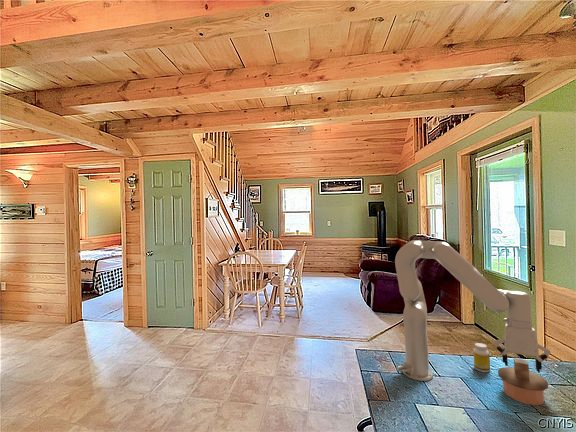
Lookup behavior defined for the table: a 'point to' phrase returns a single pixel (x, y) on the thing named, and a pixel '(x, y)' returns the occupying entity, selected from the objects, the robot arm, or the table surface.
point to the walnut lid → (522, 376)
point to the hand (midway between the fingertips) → (521, 367)
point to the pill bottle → (481, 358)
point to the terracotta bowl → (524, 394)
